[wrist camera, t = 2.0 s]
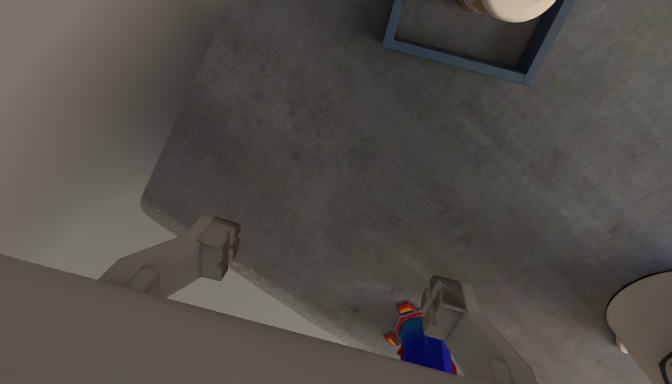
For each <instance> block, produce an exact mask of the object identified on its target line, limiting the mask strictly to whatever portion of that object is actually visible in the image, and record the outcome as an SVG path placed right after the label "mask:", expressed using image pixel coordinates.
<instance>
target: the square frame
mask: <svg viewBox="0 0 672 384" xmlns="http://www.w3.org/2000/svg"><path fill="white" fill-rule="evenodd" d="M575 1H576V0H556V1H555V2H554V3H553V5H552V6H551V7H549V8H548V9H547V10H546V11H545V13H544V15H543V17H542V19H541V21H540V23H539V25H538V27H537V29H536V31H535V33H534V35H533V37H532V39H531V41H530V43H529V45H528V47H527V49H526V51H525V53H524V55H523V57H522V59H521V61H520V63H519V65H518V67H517V69H516V68H512V67H508V66H504V65H501V64H497V63H493V62H489V61H485V60H482V59H478V58H474V57H470V56H467V55H463V54H459V53H455V52H451V51H448V50H444V49H440V48H436V47H432V46H429V45H425V44H421V43H417V42H413V41H410V40H406V39H402V38H398V37H394V35H395V31H396V28H397V24H398V21H399V17H400V14H401V10H402V7H403V3H404V0H394V2H393V6H392V10H391V13H390V17H389V21H388V25H387V28H386V32H385V36H384V39H383V43H382V47H383V48H387V49H391V50H395V51H398V52H402V53H406V54H410V55H414V56H417V57H421V58H425V59H429V60H432V61H436V62H440V63H444V64H448V65H451V66H455V67H459V68H463V69H466V70H470V71H474V72H478V73H482V74H485V75H489V76H493V77H497V78H500V79H504V80H508V81H512V82H515V83H519V84H523V85H527V86H531V84H532V82H533V80H534V78H535V76H536V74H537V72H538V70H539V69H540V67H541V65H542V63H543V61H544V59H545V57H546V55H547V54H548V52H549V50H550V48H551V46H552V44H553V42H554V40H555V38H556V37H557V35H558V33H559V31H560V29H561V27H562V25H563V23H564V22H565V20H566V18H567V16H568V14H569V12H570V10H571V8H572V6H573V5H574V3H575Z"/></svg>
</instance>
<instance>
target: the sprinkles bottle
mask: <svg viewBox="0 0 672 384" xmlns="http://www.w3.org/2000/svg"><path fill="white" fill-rule="evenodd" d="M458 1H459V3H460V4H461V6H462V7H463V8H465V9H466V10H468V11H472V12H477V13H481V14H485V15H490V16H493V17H495V18H497V19H499V20H502V21H506V22H524V21H527V20H531V19H533V18H535V17H537V16H539V15H540V14H542V13H543V12H545V11H546V10H547V9H548V8H549V7H551V6H552V5H553V3H554V2H555V1H556V0H458Z"/></svg>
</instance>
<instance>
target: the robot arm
mask: <svg viewBox="0 0 672 384" xmlns="http://www.w3.org/2000/svg"><path fill="white" fill-rule="evenodd" d="M240 226H241V225H240V224H239V223H236V222H232V221H229V220H225V219H222V218H218V217H214V216H210V215H207V214H204V215H202V216H201V217H200V218H199V219H198V220H197V221H196V223H195V224H194V225H193V226H192V227H191V228H190V230H189V231H188V232H187V233H186V234H185V235H184V237H183V238H182V237H177V238H175V239H172V240H169V241H167V242H164V243H161V244H159V245H156V246H153V247H151V248H148V249H145V250H142V251H140V252H137V253H134V254H132V255H129V256H126V257H124V258H121V259H119V260H118V261H117V262H116V263H115V264H114V265H113V266H112V267H111V268H110V269H109V270H107V271H106V273H104V274H103V275H102V276H101V277H100V279H98V280H95V279H91V278H88V277H84V276H80V275H76V274H72V273H68V272H65V271H61V270H57V269H53V268H50V267H45V266H42V265H38V264H35V263H31V262H27V261H23V260H19V259H16V258H12V257H9V256H6V255H2V254H0V384H537V382H536V379H535V376H534V374H533V371H532V368H531V367H530V366H529V365H528V364H527V363H526V362H525V360H524V359H523V358H522V357H521V356H520V355H519V354H518V353H517V352H516V351H515V350H514V348H513V347H512V346H511V345H510V344H509V343H508V342H507V341H506V340H505V339H504V338H503V336H502V335H501V334H500V333H499V332H498V331H497V330H496V329H495V328H494V327H493V326H492V324H491V323H490V322H489V321H488V320H487V319H486V318H485V317H482V316H481V314H480V310H479V307H478V303H477V300H476V297H475V293H474V290H473V287H472V285H471V284H470V283H466V282H462V281H457V280H453V279H449V278H445V277H441V276H437V275H433V276H432V278H431V279H430V287H428V288H426V289H425V291H424V293H423V296H422V300H421V311H422V313H423V314H424V315H425V317H424V319H423V320H422V321H423V330H424V335H426V336H430V337H433V338H437V339H440V340H443V341H445V344H446V345H447V347H448V349H449V350H450V352H451V353H452V355H453V357H454V358H455V360H456V362H457V363H458V365H459V366H460V368H461V370H462V371H463V373H464V375H465V376H466V377H463V376H459V375H455V374H451V373H448V372H444V371H440V370H436V369H432V368H428V367H425V366H421V365H417V364H413V363H409V362H406V361H402V360H398V359H394V358H391V357H387V356H383V355H379V354H375V353H372V352H368V351H364V350H360V349H357V348H353V347H349V346H345V345H342V344H338V343H334V342H330V341H326V340H322V339H319V338H315V337H311V336H307V335H304V334H300V333H296V332H292V331H288V330H285V329H281V328H277V327H273V326H269V325H266V324H261V323H258V322H254V321H250V320H246V319H243V318H239V317H235V316H231V315H228V314H224V313H220V312H216V311H213V310H208V309H205V308H201V307H197V306H194V305H190V304H186V303H182V302H178V301H175V300H171V299H167V297H168V296H170V295H172V294H174V293H175V292H177V291H179V290H180V289H182V288H183V287H185V286H187V285H188V284H190V283H191V282H193V281H195V280H196V279H198V278H200V277H205V278H209V279H213V280H218V281H221V280H222V278H223V277H224V275H225V273H226V272H227V270H228V263H231V262H233V260H234V258H235V256H236V254H237V251H238V247H239V241H240V240H239V238H238V234H239V233H240ZM606 319H607V323H608V325H609V326H610V328H611V329H612V330H613V331H614V333H615V334H616V345H617V346H618V348H619V349H620V350H621V351H622V352H623V353H627V354H630V355H631V357H632V358H633V359H634V360H635V362H636V363H637V364H638V366H639V367H640V368H641V370H642V371H643V372H644V374H645V375H646V376H647V377H648V379H649V380H650V381H651V383H652V384H672V271H671V272H665V273H660V274H656V275H653V276H650V277H647V278H644V279H642V280H639V281H637V282H635V283H633V284H631V285H629V286H628V287H626V288H625V289H623V290H622V291H621V292H619V293H618V294H617V295H616V296H615V297H614V298H613V300H612V301H611V302H610V304H609V306H608V308H607V312H606Z"/></svg>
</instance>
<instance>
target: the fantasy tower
mask: <svg viewBox="0 0 672 384" xmlns="http://www.w3.org/2000/svg"><path fill="white" fill-rule="evenodd" d="M396 307H397V311H398V312H399V313H400V314H401V315H399V316H398V319H397V321H396V323H395V326H394V328H393V330H394V331H395V332H396V334H397V335H398V336H399V337H400V338H401V341H400V339H399V338H398V337H397V336H396V335H395V334H394V332H393V331H390V332H388V333H387V334H385V335H384V337H385V339H386V340H387V341H388V342H389V343H390V344H391V345H395V346H397V345H400V344H401V348H400V349H399V351H398V352H397V354H398V355H400V356H401V360H402V361H406V362H409V363H413V364H417V365H421V366H425V367H428V368H432V369H436V370H440V371H444V372H448V373H451V374H455V375H457V372H456V367H455V365H454V363H453V361H452V360H451V354H450V350H449V349H448V347H447V345H446V344H445V341H443V340H440V339H437V338H433V337H430V336H426V335H424V330H423V321H422V320H423V319H424V317H425V315H424V314H423V313H422V311H421V308H420V309H417V308H418V307H417V306H416V305H415V304H413V303H412V302H410V301H409V300H407V301H404V302H401V303H398V304H396ZM416 309H417V310H416Z"/></svg>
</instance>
